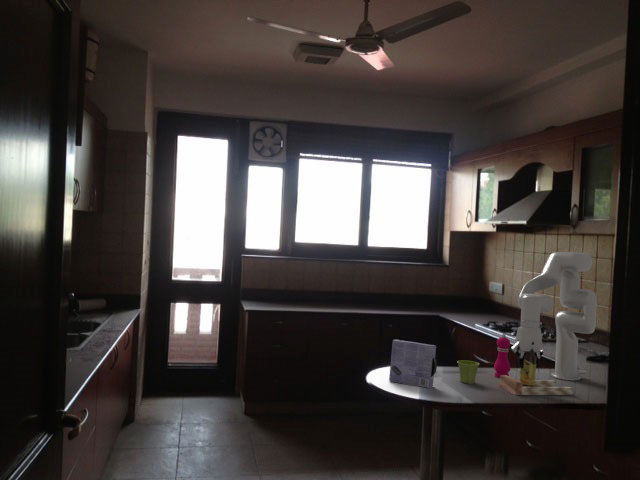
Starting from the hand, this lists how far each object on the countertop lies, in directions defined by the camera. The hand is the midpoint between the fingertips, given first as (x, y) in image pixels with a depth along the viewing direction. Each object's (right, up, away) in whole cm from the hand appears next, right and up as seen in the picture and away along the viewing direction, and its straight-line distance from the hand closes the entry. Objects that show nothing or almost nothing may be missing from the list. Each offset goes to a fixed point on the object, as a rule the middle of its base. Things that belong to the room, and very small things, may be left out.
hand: (527, 366), depth 234 cm
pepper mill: (-3, -10, +24) cm, 26 cm away
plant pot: (-23, -9, +10) cm, 27 cm away
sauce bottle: (0, -9, 0) cm, 9 cm away
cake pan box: (-49, -8, +1) cm, 49 cm away
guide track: (+3, -10, +1) cm, 11 cm away
